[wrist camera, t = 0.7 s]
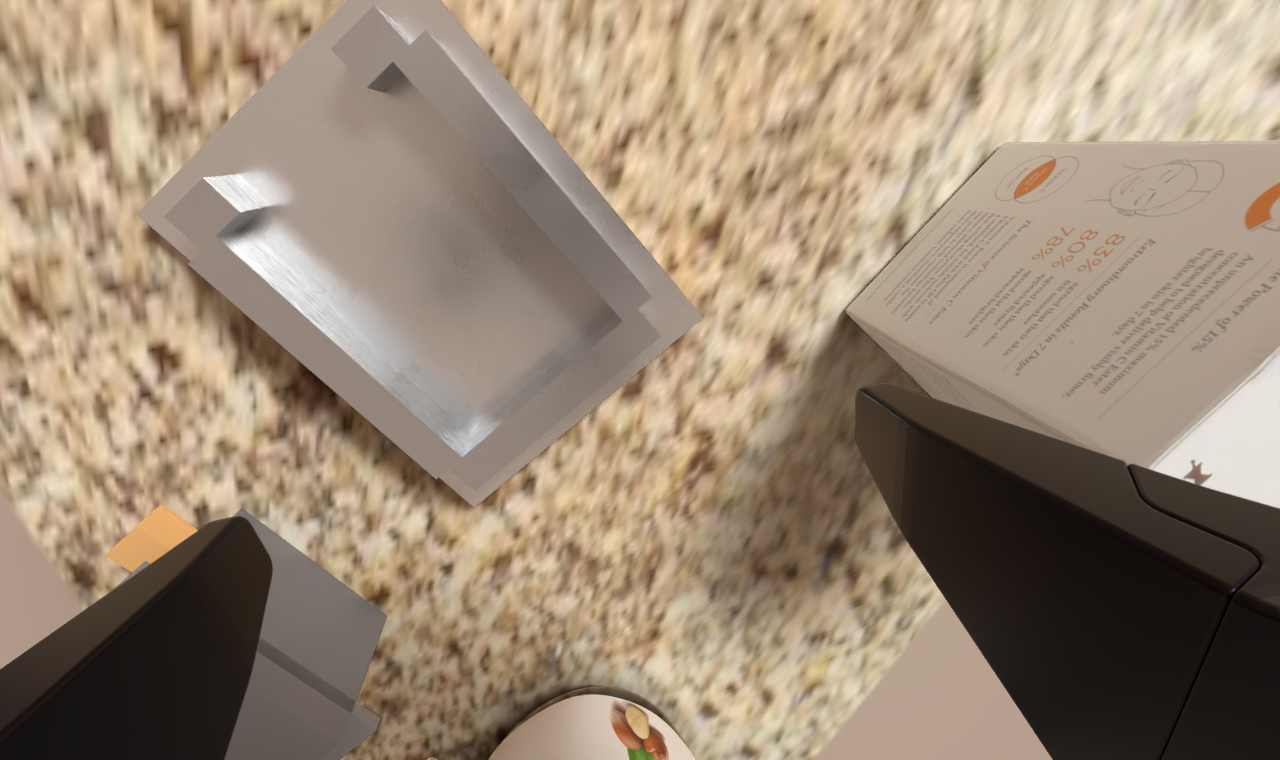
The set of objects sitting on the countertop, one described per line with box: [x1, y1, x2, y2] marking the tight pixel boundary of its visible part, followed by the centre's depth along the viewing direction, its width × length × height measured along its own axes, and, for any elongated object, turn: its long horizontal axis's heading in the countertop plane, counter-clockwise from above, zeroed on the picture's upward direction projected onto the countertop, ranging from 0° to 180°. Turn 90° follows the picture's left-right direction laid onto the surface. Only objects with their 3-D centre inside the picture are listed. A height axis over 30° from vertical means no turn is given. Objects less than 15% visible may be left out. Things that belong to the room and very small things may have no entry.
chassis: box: [137, 0, 703, 507], centre depth 20 cm, size 14×11×3 cm
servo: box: [106, 505, 387, 760], centre depth 22 cm, size 10×4×6 cm, turn 40°
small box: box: [846, 141, 1280, 508], centre depth 18 cm, size 8×6×13 cm
